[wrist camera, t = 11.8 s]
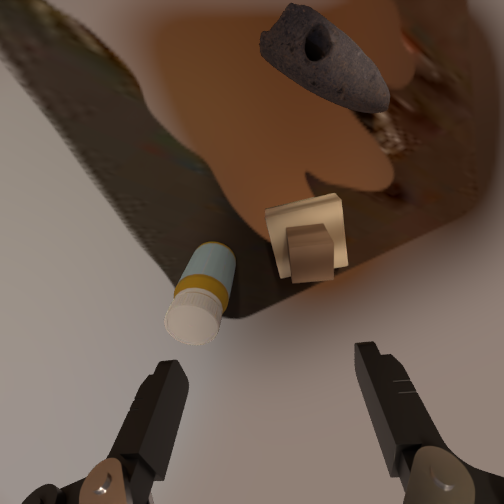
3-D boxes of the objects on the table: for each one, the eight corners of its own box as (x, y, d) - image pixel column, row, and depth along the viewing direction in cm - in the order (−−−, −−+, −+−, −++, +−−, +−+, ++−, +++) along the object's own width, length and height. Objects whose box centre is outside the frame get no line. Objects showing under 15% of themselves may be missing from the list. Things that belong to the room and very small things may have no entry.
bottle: (196, 275, 42) (165, 346, 29) (192, 239, 39) (154, 300, 26) (237, 277, 42) (223, 349, 29) (236, 240, 39) (220, 303, 26)
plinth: (265, 208, 37) (265, 218, 33) (333, 192, 35) (341, 200, 31) (279, 264, 41) (280, 278, 38) (340, 252, 39) (348, 265, 36)
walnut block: (285, 227, 34) (289, 247, 28) (323, 223, 33) (334, 243, 28) (288, 259, 36) (292, 283, 31) (323, 255, 35) (333, 279, 30)
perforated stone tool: (391, 88, 29) (425, 80, 23) (360, 132, 31) (383, 135, 25) (281, 5, 26) (285, -30, 20) (256, 60, 28) (253, 44, 22)
